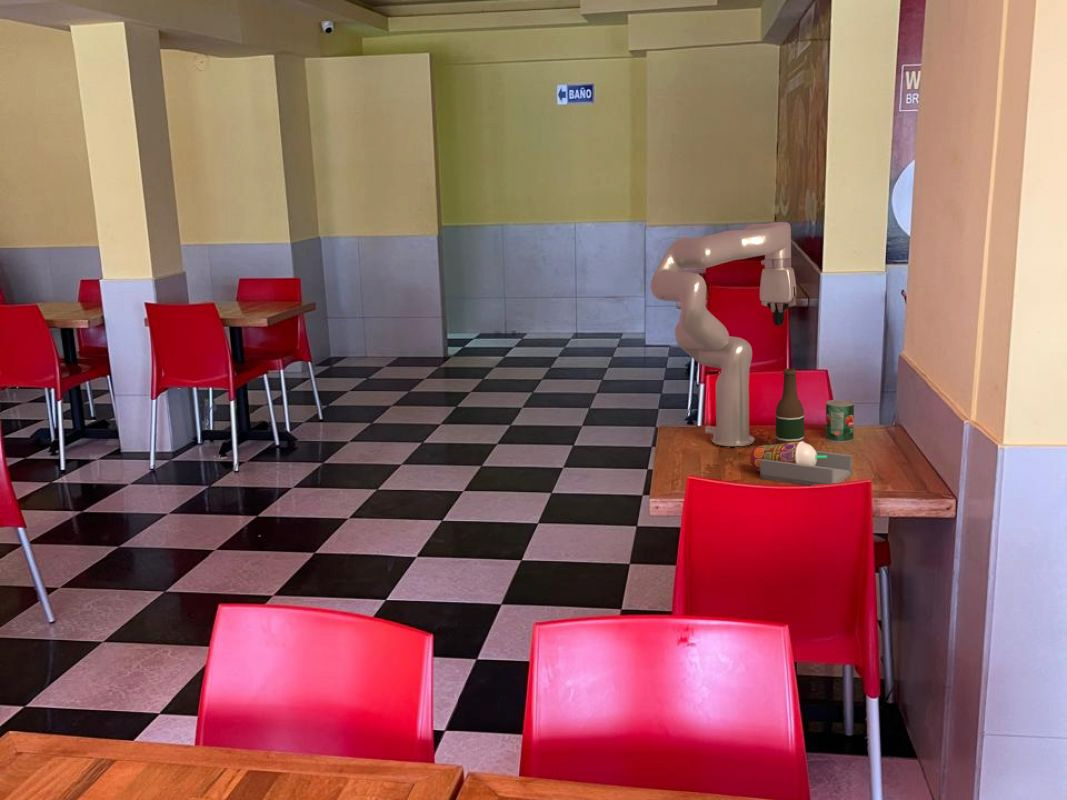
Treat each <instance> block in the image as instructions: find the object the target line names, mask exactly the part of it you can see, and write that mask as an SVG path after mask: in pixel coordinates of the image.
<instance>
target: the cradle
mask: <svg viewBox="0 0 1067 800" xmlns="http://www.w3.org/2000/svg"><path fill="white" fill-rule="evenodd" d="M816 453H817V456H825V455H827V458H817V463H816V465H815V466H811V465H804V464H796V463H788V462H781V461H773V460H766V459H762V460H760V471H759V472H760V473H759V474H760V480H768V481H774V482H780V483H781V482H782V483H789V484H794V485H803V486H808V485H813V484H831V483H839V484H840V483H842V482H843V481H844V480H845V479H847V478H849V476H851V475H852V473H853V455H852V454H844V453H836V452H827V451H819V450H816Z"/></svg>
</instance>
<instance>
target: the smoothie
mask: <svg viewBox="0 0 1067 800" xmlns="http://www.w3.org/2000/svg"><path fill="white" fill-rule="evenodd" d="M816 451H817V450H816V449H815V447H813V446H812V445H811V444H809V443H806V442H805V441H804V442H803V441H801V442H792V443H783V444H776V443H775V444H765V445H758V446H757V447H755V448H753V449H752V450H751V452H750V464H751V467H752V468H753V470H755V471H756V470H757V471H758V472H760V460H762V459H766V460H773V461H781V462H788V463H796V464H804V465H811V466H815V465H816V463H817V458H827V455H825V456H817V453H816Z"/></svg>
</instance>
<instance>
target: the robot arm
mask: <svg viewBox="0 0 1067 800" xmlns="http://www.w3.org/2000/svg"><path fill="white" fill-rule="evenodd" d="M760 256H764V260H763V259H762V260H761V261H760V263H761V265H762V266H764V268H762V271H761V275H760V276H761V277H760V282H759V283H760V284H759V285H760V286H759V300H760V301H761V302H760V303H761V306H765V307H768V309H770V311H771V313H772V322H773V323H774V324H773V325H774V326H782V325H784V323H785V312H786V311H787V310H788V308H791V307H794V306H796V305H797V301H796V299H797V283H796V281H797V280H796V276H795V270H794V268H793V267H792V228H791V225H790V223H789V222H786V221H774V222H769V223H753V224H749V225H747V226H746V227H744V228H743V229H732V230H725V231H721V232H718V233H714V234H710V235H706V236H701V237H680V238H677V239H676V240H674V242H672V244H671V245H669V248H668V249H667V250H666V252H665V254H664V255H663V257H662V259H661V261H660V262H659V265H658V266H657V267H656V270H654V273H653V275H652V277H651V281H650V290H651V293H652V296H653V297H655V298H656V299H657V300H659V301H665V302H677V303H681V308H680V314H679V316H678V317H679V319H678V322H677V323H676V325H675V328H674V337H675V341H676V343H677V345H678V346H679V347H680V349H682V351H684V352H685V353H686V354H688V355H689V356H690V358H692V359H693V360H695V362H697V363H698V364H700V365H702V366H705V367H711V368H717V369H721V371H720V373H719V375H718V377H717V379H716V382H715V417H716V418H715V419H716V420H715V421H716V422H715V423H716V424H715V426H711V425H705V428H704V430H705V432H704V433H705V434H706V435H708V434H709V435H712V437H711V440H712V442H714V443H716V444H719V445H724V446H745V445H749V444H752V443H753V442H754V441H756V440H755V437H754V436H752V435H750V388H749V387H750V384H749V383H750V369H751V363H752V359H753V350H752V349H753V348H752V346H751V344H750V342H748V340H746V339H743V338H742V337H739V336H730V333H729V331H728V330H727V328H726V326H725V324H723V323H722V322H721V321H720V320H719V319H718V318H716V317H715V316H714V315H713V314H712V313H711V312H710V310H708V308H707V307H706V299H707V284H706V280H705V279H704V277H703V276H702V275H701V274H700V273H696V272H694V271H687V270H684V268H686V269H687V268H689V269H707V268H710V267H715V266H717V265H722V264H724V263H728V262H732V261H737V260H746V259H748V258H755V257H760ZM712 442H711V443H712ZM754 443H755V442H754ZM754 443H753V444H754ZM753 444H752V445H753ZM749 446H750V445H749ZM745 447H746V446H745Z"/></svg>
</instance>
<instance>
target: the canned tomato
mask: <svg viewBox="0 0 1067 800" xmlns="http://www.w3.org/2000/svg"><path fill="white" fill-rule="evenodd" d="M854 418H855V402H854V401H853V400H852V401H851V400H849V399H848V400H847V399H831V400H827V401H826V402H825V440H827V441H829V442H833V443H849V441H850V442H852V441H854V439H855V438H854V432H855V431H854V428H855V427H854V426H855V425H854V424H855V423H854V422H855V421H854Z"/></svg>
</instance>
